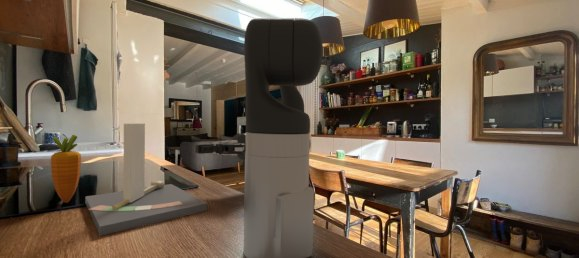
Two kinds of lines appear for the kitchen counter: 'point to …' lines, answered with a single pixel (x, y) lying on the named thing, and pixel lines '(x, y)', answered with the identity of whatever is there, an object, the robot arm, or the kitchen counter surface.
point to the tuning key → (135, 165)
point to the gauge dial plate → (141, 208)
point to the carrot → (66, 168)
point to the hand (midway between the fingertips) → (196, 149)
